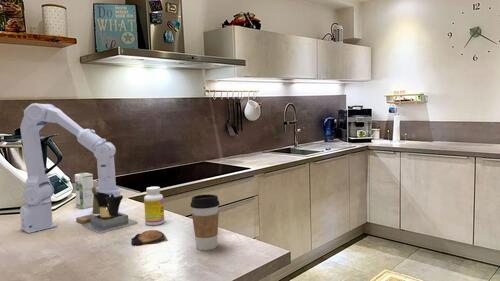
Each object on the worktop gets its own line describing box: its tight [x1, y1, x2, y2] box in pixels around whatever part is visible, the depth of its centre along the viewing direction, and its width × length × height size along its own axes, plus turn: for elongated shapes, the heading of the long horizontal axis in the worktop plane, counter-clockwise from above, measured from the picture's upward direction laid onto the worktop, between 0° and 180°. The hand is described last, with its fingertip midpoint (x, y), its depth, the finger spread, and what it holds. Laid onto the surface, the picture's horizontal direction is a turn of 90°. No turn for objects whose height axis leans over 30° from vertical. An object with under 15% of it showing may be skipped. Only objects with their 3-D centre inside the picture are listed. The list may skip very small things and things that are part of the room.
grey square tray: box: [81, 211, 139, 234], centre depth 132 cm, size 14×14×3 cm
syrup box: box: [74, 172, 94, 210], centre depth 159 cm, size 6×6×14 cm
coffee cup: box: [189, 193, 220, 251], centre depth 106 cm, size 8×8×15 cm
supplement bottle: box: [143, 186, 165, 226], centre depth 132 cm, size 7×7×13 cm
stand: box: [75, 213, 97, 225], centre depth 137 cm, size 6×6×2 cm
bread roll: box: [130, 229, 169, 247], centre depth 114 cm, size 11×8×4 cm
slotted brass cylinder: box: [99, 205, 115, 220], centre depth 132 cm, size 5×5×6 cm
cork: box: [92, 184, 100, 215], centre depth 150 cm, size 6×6×11 cm
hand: (109, 214), depth 132 cm, fingers open, 7 cm apart
